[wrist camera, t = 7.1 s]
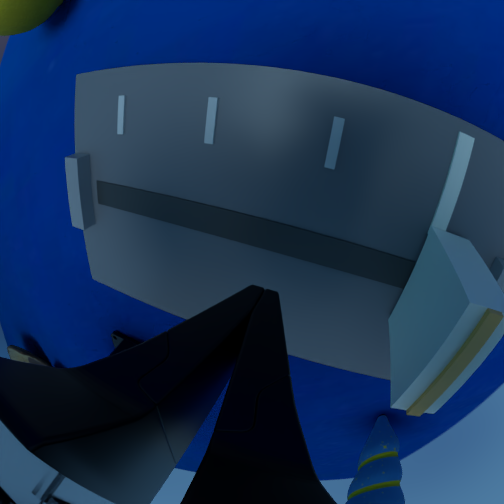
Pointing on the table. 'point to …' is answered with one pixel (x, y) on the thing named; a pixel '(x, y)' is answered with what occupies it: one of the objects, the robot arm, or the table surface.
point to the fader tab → (442, 323)
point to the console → (276, 195)
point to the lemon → (24, 14)
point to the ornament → (378, 469)
